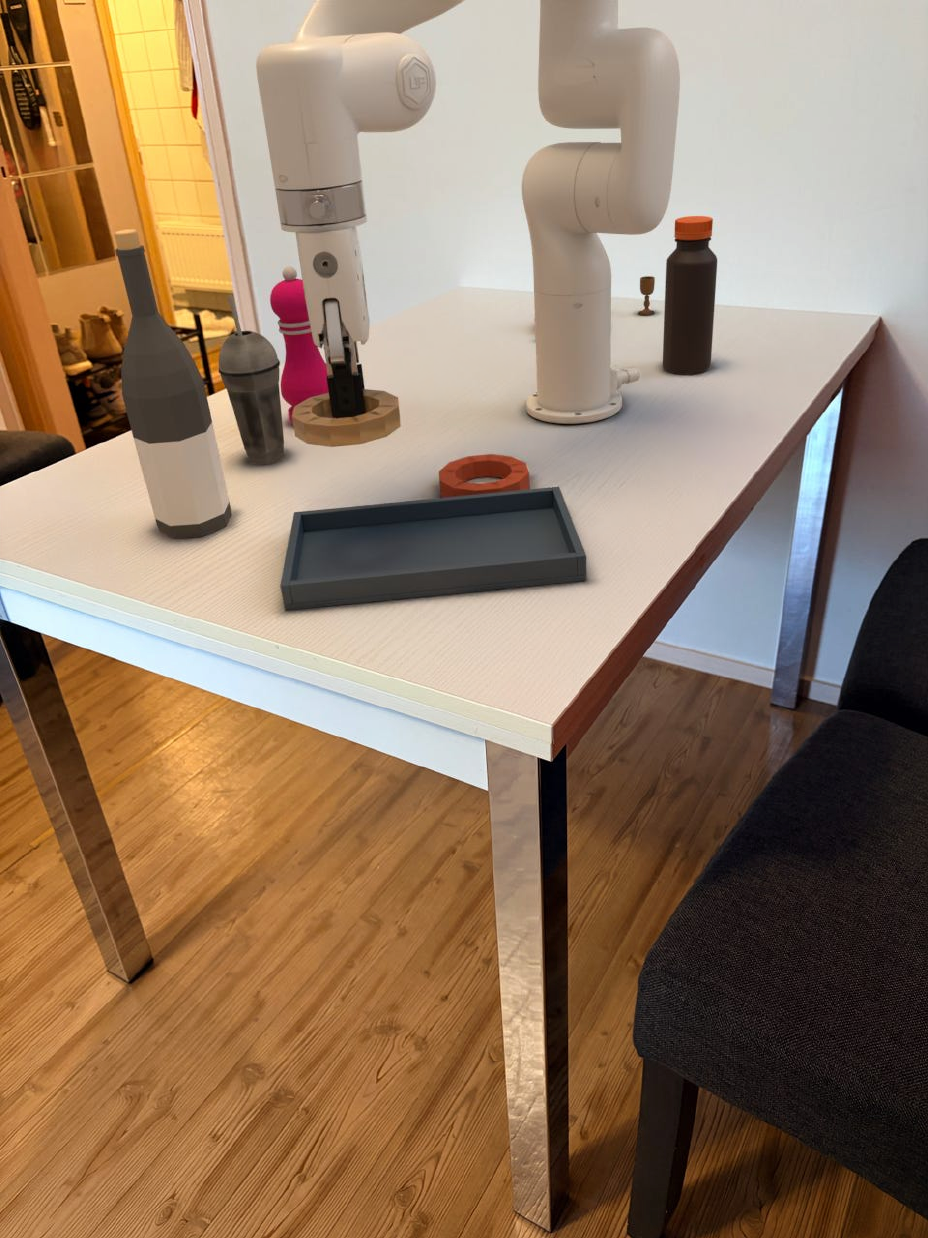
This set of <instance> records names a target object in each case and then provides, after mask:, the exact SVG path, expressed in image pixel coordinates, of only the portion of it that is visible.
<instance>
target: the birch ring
mask: <svg viewBox="0 0 928 1238" xmlns="http://www.w3.org/2000/svg"><path fill="white" fill-rule="evenodd" d="M363 394H364V402H365V409H366V412H365V414H362V415H359V416H355V417H348V418H335V419H334V417H333V416H332V412H331V405H330V398H329V393H326V394H322V395H318V396H314V397H311V398H308V399H307V400H305V401H303V402H301V403H300V404H298V405H296V406H295V407H294V409H293V413H292V421H293V425H292V426H293V432H294V433H293V434H294V437H295V438H297V439H298V440H300V441H301V442H304V443H305V444H307V445H313V446H322V447H329V448H334V447H335V448H337V447H346V446H358V445H363V444H367V443H370V442H374V441H376V440H380V439H384V438H387V437H388V436H389V435H391V434H392V433H394V432H395V431H397V430H398V429H400V428H401V426H402V425H401V410H400V402H399V396H396V395H394V394H393V393H390V392H387V391H385V390H380V389H379V390H378V389H368V388H367V389H366V388H365V389H363Z"/></svg>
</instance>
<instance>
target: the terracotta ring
mask: <svg viewBox="0 0 928 1238" xmlns="http://www.w3.org/2000/svg"><path fill="white" fill-rule="evenodd" d="M484 477H485V478H486V477H493V478H501V479H499V480H495V481H490V482H480V483H479V482H469V480H472V479H474V478H475V479H476V478H484ZM438 479H439V489H440V491H439V492H440V498H446V497H456V496H466V495H477V494H487V493H497V492H508V491H518V490H528V489H530V471H529V469H528V465H527V463H526V462H525V461H523V460H520V459H518V458H516V457H514V456H511V455H502V454H494V453H488V454H478V455H468V456H465V457H461V458H458V459H455V460H452V461H450V462H448V463H447V464H446V465H444V466H443V467H442V468H441V469H440V470H438Z"/></svg>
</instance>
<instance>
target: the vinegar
mask: <svg viewBox="0 0 928 1238" xmlns="http://www.w3.org/2000/svg"><path fill="white" fill-rule="evenodd" d="M713 221H714V219H713V217H711V216H706V215H704V216H703V215H690V216H683V217H679V218H675V220H674V242H676V247H675V249H674V250H673V251H672V252H671V253H670V254H669V256H668V257H667V258H666V263H665V290H664V294H665V295H664V316H663V319H664V320H663V339H662V340H663V342H662V368H663V369H664V371H666V372H668V373H671V374H677V375H693V374H694V375H695V374H700V373H703V372H706V371H707V370H709V369H710V367H712V366H711V365H712V353H713V352H712V351H713V339H714V338H713V337H714V336H713V335H714V323H715V322H714V321H715V304H716V290H717V277H718V276H717V275H718V274H717V272H718V257H717V255H716V253H714V251H713V250H712V249H711V248H710V241H711V240H712V237H713V223H714V222H713Z"/></svg>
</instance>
